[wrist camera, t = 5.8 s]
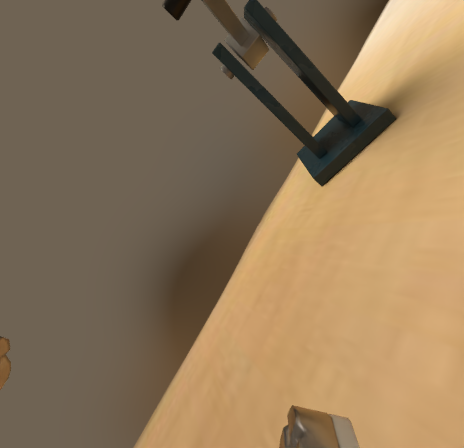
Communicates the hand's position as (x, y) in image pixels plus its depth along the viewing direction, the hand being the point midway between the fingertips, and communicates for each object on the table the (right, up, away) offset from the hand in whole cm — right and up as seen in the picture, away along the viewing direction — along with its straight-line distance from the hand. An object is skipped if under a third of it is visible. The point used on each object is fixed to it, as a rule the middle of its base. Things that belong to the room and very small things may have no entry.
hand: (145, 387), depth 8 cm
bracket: (+14, +13, +21) cm, 28 cm away
